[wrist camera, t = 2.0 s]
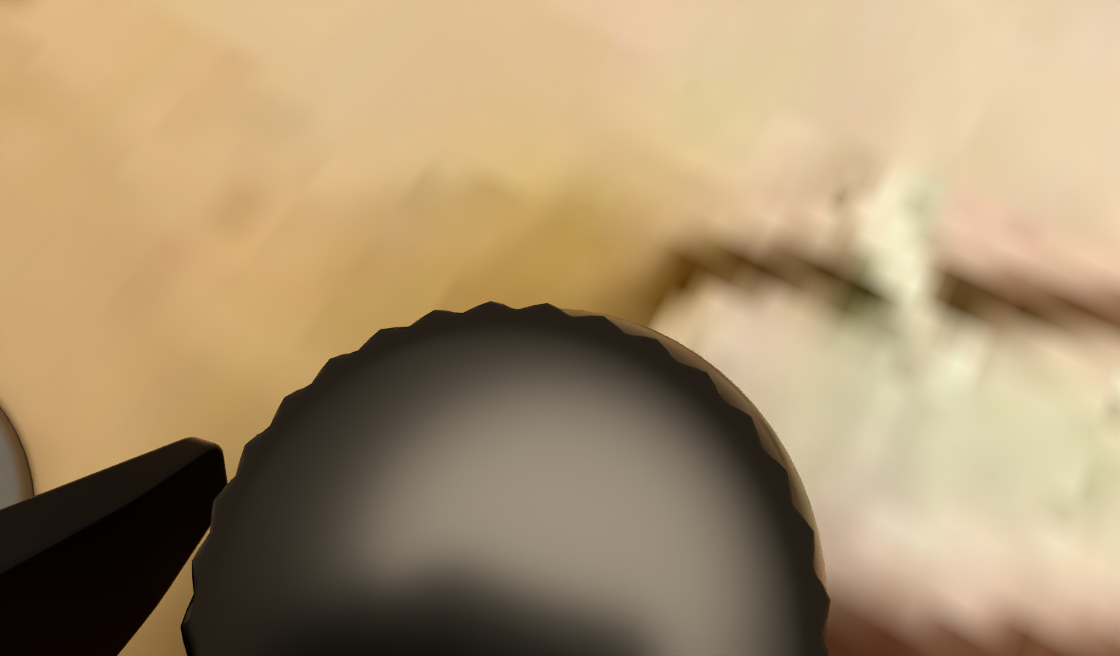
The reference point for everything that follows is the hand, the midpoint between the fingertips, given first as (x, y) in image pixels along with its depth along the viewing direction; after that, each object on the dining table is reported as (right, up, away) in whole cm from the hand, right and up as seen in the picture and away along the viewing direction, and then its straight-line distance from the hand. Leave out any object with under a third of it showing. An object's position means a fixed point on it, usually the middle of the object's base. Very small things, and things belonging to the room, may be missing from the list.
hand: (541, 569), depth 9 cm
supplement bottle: (+1, -2, +8) cm, 8 cm away
